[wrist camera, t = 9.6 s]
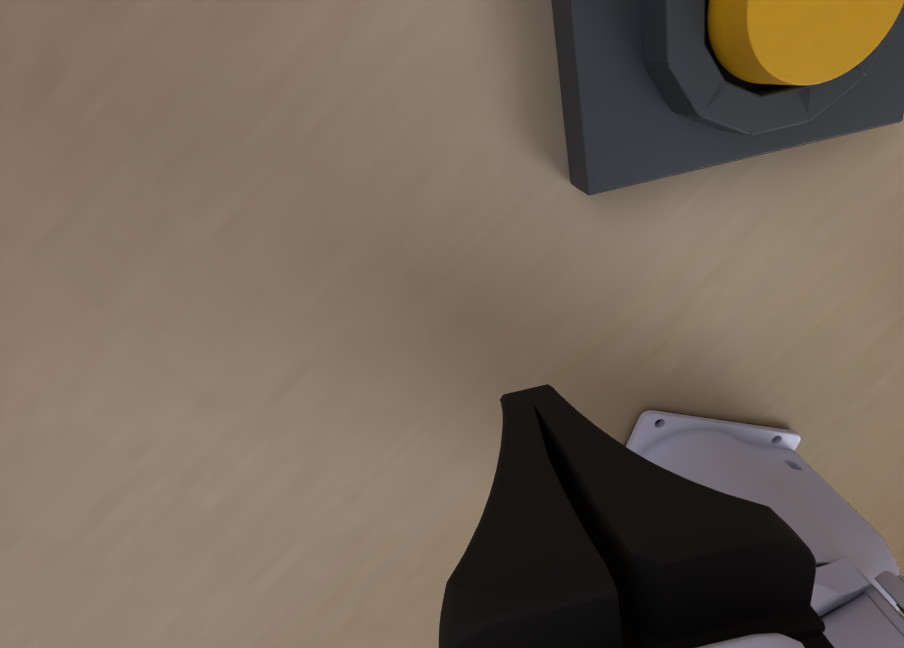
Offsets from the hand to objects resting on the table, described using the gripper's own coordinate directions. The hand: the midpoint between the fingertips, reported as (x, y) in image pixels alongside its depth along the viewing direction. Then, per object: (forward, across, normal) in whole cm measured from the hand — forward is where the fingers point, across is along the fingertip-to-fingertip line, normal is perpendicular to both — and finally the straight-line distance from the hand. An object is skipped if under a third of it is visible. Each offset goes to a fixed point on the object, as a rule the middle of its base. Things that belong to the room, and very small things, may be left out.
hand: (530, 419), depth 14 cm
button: (+6, -11, -8) cm, 15 cm away
